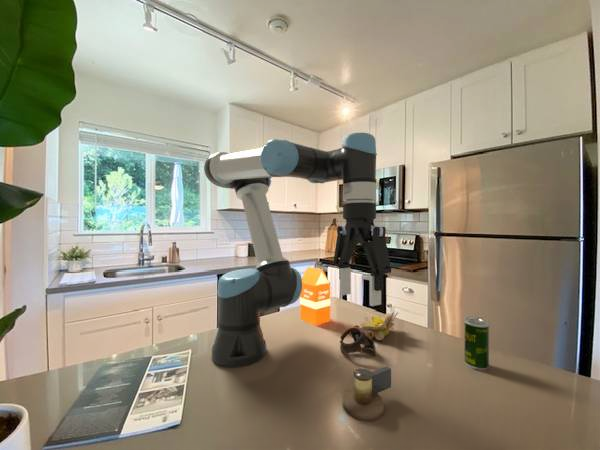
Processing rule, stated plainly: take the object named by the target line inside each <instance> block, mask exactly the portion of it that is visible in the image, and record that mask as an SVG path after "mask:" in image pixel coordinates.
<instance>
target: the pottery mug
mask: <svg viewBox="0 0 600 450" xmlns="http://www.w3.org/2000/svg"><path fill="white" fill-rule="evenodd" d="M348 335H350V336H351V337H352V338H353V342H351V343H345V342H344V340H345V338H346V337H347V336H348ZM371 337H372V335H370V334H369V333H368V331H363V330H362V329H361V327H360V326H359V325H353V326H352V327H349V328H346V329H345V330H344V331H343V332H342V333H341V334H340V341H339V343H340V347H339V348H340V351H341V353H342V354H343V353H345V354H347V355H348V354H354V353H357V352H358V353H362V347H361V346H364V348H365V349H370V350H372V351H373V355H374V356H375V357H377V351H376V350H377V349H376V346H375V343H374V340H373V338H372V339H371Z"/></svg>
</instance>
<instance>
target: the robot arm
mask: <svg viewBox="0 0 600 450" xmlns="http://www.w3.org/2000/svg"><path fill="white" fill-rule="evenodd" d="M376 144H377V143H376V138H375V136H374V135H373V134H370V133H368V132H353V133H349V134H347V135H345V136H344V137H343V139H342V144H341V147H340V148H336V149H333V150H328V151H326V150H321V149H318V148H314V147H309V146H306V145H302V144H300V143H295V142H291V141H289V140H286V139H276V138H274V139H273V138H272V139H269V140H268V141H267V143H266V144H264V145H263V147H259V148H255V149H249V150H243V151H238V152H233V153H229V152H226V151H222V152H215V153H213V154H211V155H209V157H207V159H206V160H205V162H204V166H203V170H204V174H205V177H206V178H207V180H208V181H210V183H212V184H213V185H215V186H217V187H219V188H222V189H233V190H234V192H235V195H236V197H237V199H239V200H241V202H242V205H243V209H244V215H245V219H246V223H247V226H248V231H249V234H250V239H251V244H252V247H253V250H254V251H253V252H254V255H255V260H256V266H255V268H244V269H241V268H239V269H236V270H232V271H229V272H228V271H227V273H224V274H222V276H220V277H219V278H218V282H217V292H216V295H217V332H216V336H215V338H214V339H215V340H214V342H213V345H212V348H211V359H212V362H213V363H214V364H216V365H219V366H221V367H224V368H225V367H226V368H240V367H245V366H251V365H252V364H255V363H257V362H259V361H261V360H262V359H263V358H264V357H265V356H266V354H267V343H266V340H265V339H264V333H263V331H262V327H261V320H260V319H261V313H263V312H268V311H271V310H276V309H280V308H285V307H287V306H290V305H292V304H294V303H296V302H298V300H299V299H300V294H301V292H302V275H301V273H300V272H299V271H298V270H297V268H294V267H291V264H290V260H288V259H287V258H286V257H284V255H283V253H282V249H281V245H280V242H279V238H278V234H277V230H276V227H275V223H274V220H273V216H272V212H271V209H270V205H269V201H268V198H267V194H268V192H269V189H270V186H271V184H272V180H271V179H272V178H286V177H287V178H288V177H289V178H296V179H297V178H298V179H303V180H307V181H308V182H310V183H311V184H322V185H323V184H325V183H329V182H335V181H341V180H342V185H343V186H342V201H343V202H344V203H343V205H342V219H343V220H345V225H338V226H337V227H336V230H337V231H336V232H337V233H336V234H337V236H336V244H335V249H334V256H333V260H332V261H333V264H334V265H337V267H338V269H339V271H338V274H339V276H338V278H339V281H340V283H339V290H340V291H339V293H340V296H346V295H351V294H352V291H351V289H352V287H351V286H352V285H351V284H352V278H351V276H352V272H351V271H352V269H351V265H350V262H351V260H352V257H353V254H354V251H355V249H356V246H357V245H360V246H361V247H362V248H363V251H364V255H365V256H366V259H367V262H368V265H369V267H370V270H371V273H370V274H369V306H370V307H375V306H380V305H382V291H383V290H384V276H385V275H387V274H390V273H392V266H391V259H390V255H389V251H388V245H387V241H386V233H387V232H386V229H387V228H386V227H385V226H376V225H375V223H374V221H375V219H376V218H377V204H376V203H374V202H375V201H376V200H377V179H376V176H377V174H376V173H377V155H378V154H377V146H376Z"/></svg>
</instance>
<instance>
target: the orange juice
mask: <svg viewBox="0 0 600 450" xmlns="http://www.w3.org/2000/svg"><path fill="white" fill-rule="evenodd" d="M327 277H328V276H327V275H326V274H325V271H324V269H323V268H315V267H311V266H307V268H306V269H305V271H304V274H303V275H302V276H301V278H302V292H301V294H300V297H299V299H300V300H299V305H300V307H299V311H300V320H301V319H302V320H301V321H303V320H304V321H303V322H305V321H306V322H305V323H308V322H309V323H308V324H310V323H311V324H310V325H312V324H313V325H312V326H315V325H317V326H320V325H323V324H325V322H326V323H328V321H329V322H331V282H330V281H329V279H328V278H327ZM322 323H323V324H322ZM319 324H320V325H319Z"/></svg>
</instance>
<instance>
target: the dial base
mask: <svg viewBox="0 0 600 450" xmlns="http://www.w3.org/2000/svg"><path fill="white" fill-rule="evenodd" d="M342 408H343V411H345V413H346V414H347V415H348V416H349V417H352V418H353V419H356V420H359V421H364V422H371V421H376V420H378V419H380V418H381V417H382V416H383V415H384V400H383V397H382V396H381V395H380V394H379V393H377V394H374V395H372V402H371V403H370V404H367V405H362V404H359V403H357V402H356V401H355V400H354V387H351V388H349V389H347V390H345V392H344V393H343V395H342Z"/></svg>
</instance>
